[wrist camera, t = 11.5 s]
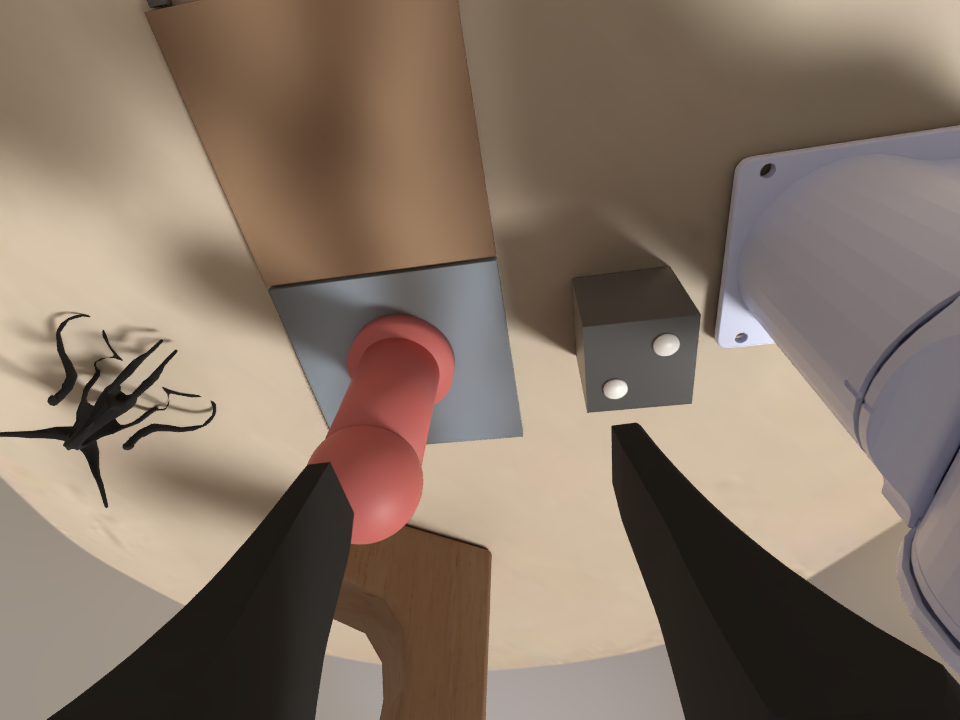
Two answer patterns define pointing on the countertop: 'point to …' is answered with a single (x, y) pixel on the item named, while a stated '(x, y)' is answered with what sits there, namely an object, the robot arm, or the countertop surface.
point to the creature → (103, 410)
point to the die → (635, 339)
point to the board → (354, 180)
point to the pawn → (387, 421)
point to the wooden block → (423, 622)
